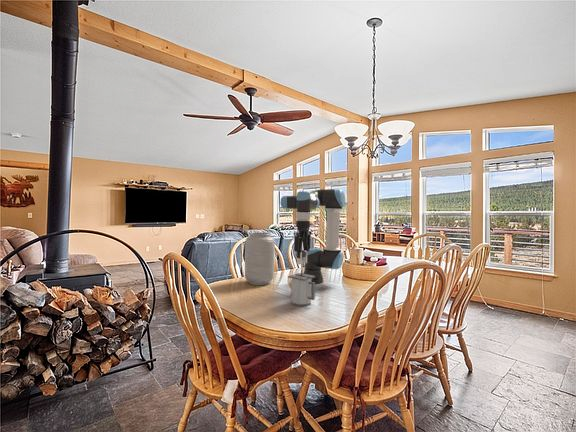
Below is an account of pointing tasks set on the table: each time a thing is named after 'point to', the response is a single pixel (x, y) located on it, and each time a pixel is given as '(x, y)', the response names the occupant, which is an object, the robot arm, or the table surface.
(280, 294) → the table surface
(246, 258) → the vase
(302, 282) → the grey french press
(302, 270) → the plunger
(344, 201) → the robot arm
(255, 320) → the table surface
